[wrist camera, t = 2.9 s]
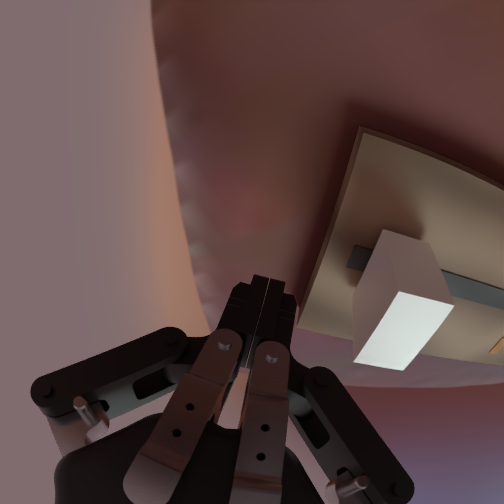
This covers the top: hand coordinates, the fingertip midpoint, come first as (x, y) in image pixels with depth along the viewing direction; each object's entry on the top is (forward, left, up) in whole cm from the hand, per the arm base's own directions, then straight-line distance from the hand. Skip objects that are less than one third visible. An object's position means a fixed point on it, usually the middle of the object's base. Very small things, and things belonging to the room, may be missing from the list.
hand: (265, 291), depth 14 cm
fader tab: (0, +7, -4) cm, 8 cm away
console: (0, +14, -6) cm, 15 cm away
